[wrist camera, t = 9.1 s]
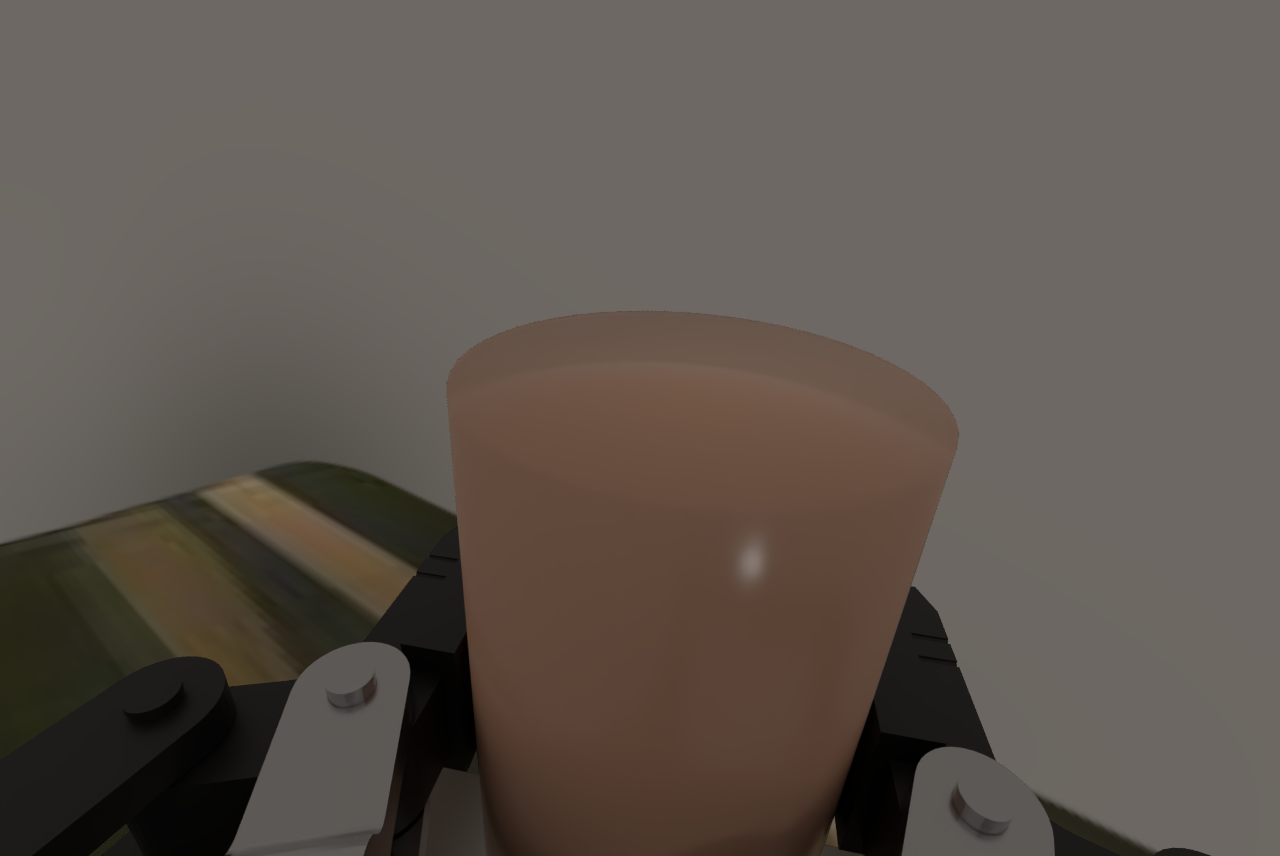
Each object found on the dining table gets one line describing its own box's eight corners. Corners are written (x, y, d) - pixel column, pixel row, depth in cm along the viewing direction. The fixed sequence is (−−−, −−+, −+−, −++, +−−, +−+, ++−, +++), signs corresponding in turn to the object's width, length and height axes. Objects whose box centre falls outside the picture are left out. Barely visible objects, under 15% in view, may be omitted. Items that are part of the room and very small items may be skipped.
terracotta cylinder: (768, 824, 13) (895, 333, 8) (776, 1179, 9) (1064, 564, 4) (546, 777, 14) (541, 296, 9) (445, 1086, 9) (326, 455, 4)
